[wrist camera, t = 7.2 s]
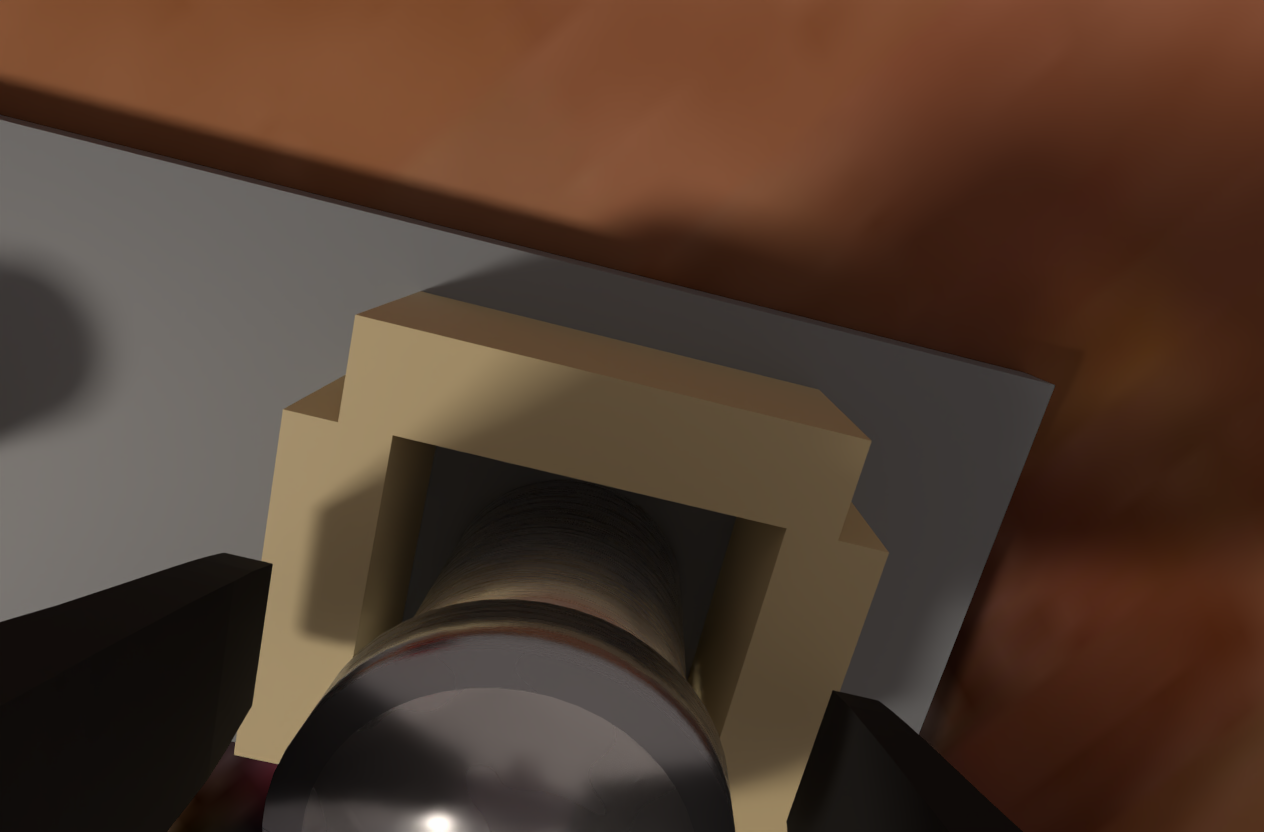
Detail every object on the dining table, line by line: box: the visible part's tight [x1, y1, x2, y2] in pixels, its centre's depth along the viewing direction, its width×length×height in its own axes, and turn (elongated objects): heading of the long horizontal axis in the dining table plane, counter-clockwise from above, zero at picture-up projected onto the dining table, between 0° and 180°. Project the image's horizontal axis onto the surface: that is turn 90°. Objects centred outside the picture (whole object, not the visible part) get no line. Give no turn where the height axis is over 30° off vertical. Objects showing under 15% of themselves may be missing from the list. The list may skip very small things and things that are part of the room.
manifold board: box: [0, 115, 1055, 832], centre depth 12 cm, size 10×24×4 cm, turn 76°
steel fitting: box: [262, 480, 735, 832], centre depth 11 cm, size 5×5×6 cm
